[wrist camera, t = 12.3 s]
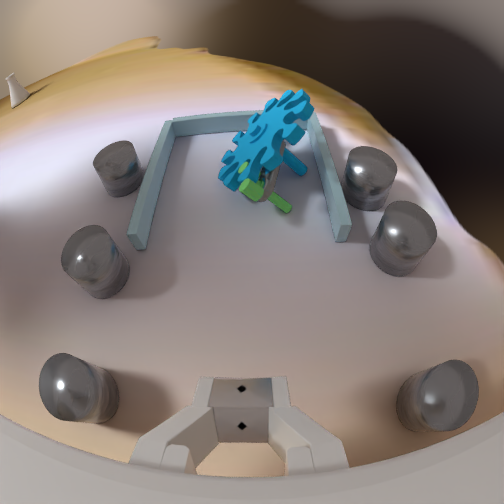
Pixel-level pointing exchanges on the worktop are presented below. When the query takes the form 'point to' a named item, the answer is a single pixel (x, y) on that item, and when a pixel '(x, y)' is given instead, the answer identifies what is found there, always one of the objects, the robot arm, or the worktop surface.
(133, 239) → the light blue u-shaped piece
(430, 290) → the worktop surface
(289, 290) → the worktop surface
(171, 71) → the worktop surface
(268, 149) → the gear
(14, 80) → the flask
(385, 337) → the worktop surface
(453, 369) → the spacers
